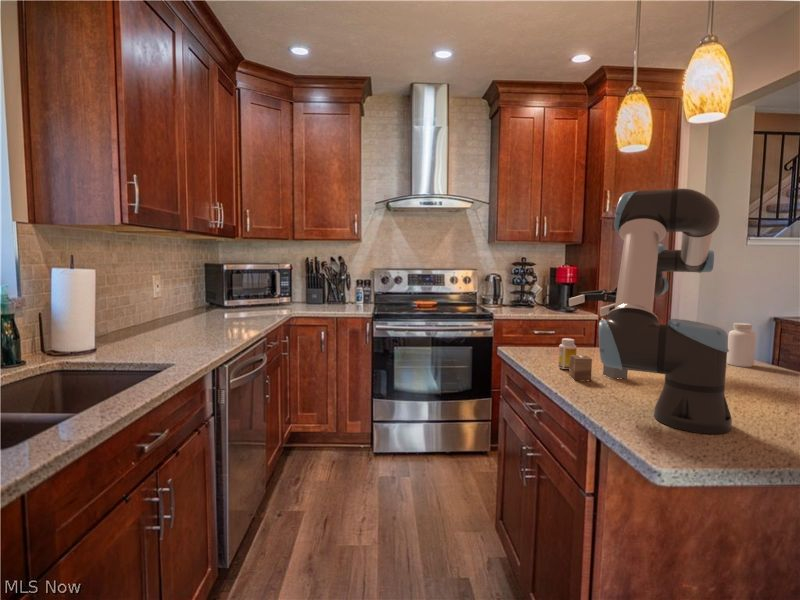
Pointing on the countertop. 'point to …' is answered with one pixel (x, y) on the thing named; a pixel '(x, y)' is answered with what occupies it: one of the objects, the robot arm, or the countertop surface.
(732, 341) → the pill bottle
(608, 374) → the slate block
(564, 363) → the supplement bottle
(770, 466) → the countertop surface
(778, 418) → the countertop surface
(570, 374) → the walnut block
